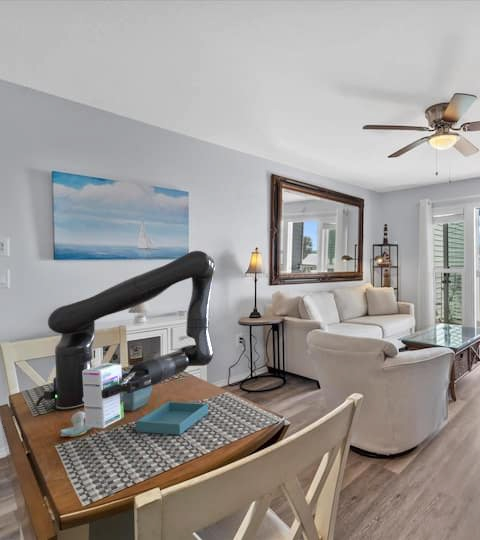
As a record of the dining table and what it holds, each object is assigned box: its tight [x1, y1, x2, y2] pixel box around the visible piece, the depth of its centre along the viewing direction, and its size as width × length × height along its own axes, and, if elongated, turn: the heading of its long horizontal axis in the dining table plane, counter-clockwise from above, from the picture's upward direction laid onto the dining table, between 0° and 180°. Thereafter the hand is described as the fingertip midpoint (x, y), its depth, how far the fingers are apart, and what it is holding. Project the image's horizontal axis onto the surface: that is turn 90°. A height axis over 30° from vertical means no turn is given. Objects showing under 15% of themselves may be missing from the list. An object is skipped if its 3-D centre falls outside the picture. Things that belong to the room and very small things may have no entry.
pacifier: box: [60, 411, 93, 438], centre depth 91 cm, size 7×6×6 cm
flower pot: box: [123, 385, 153, 412], centre depth 107 cm, size 9×9×9 cm
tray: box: [135, 401, 209, 436], centre depth 98 cm, size 13×13×3 cm
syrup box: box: [82, 362, 125, 429], centre depth 85 cm, size 6×6×14 cm
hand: (93, 392), depth 82 cm, fingers closed on syrup box, 6 cm apart
